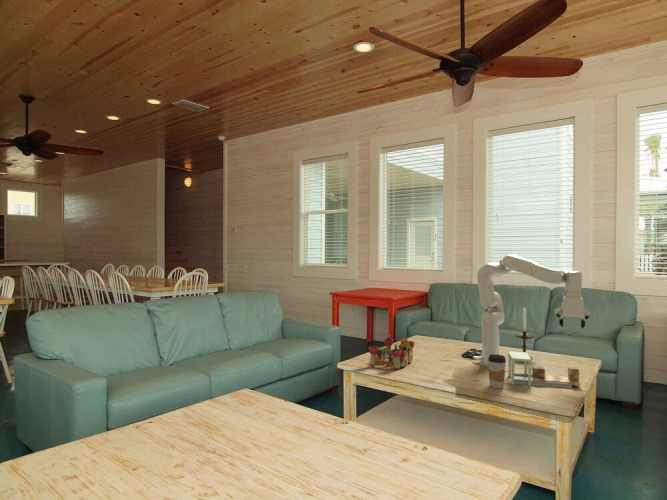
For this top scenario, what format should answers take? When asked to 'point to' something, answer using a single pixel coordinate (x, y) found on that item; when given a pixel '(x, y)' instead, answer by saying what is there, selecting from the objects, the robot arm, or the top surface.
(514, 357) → the white stool
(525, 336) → the candlestick
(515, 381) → the lane board
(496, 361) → the coffee cup
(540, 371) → the cube
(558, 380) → the strip
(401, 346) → the block castle
